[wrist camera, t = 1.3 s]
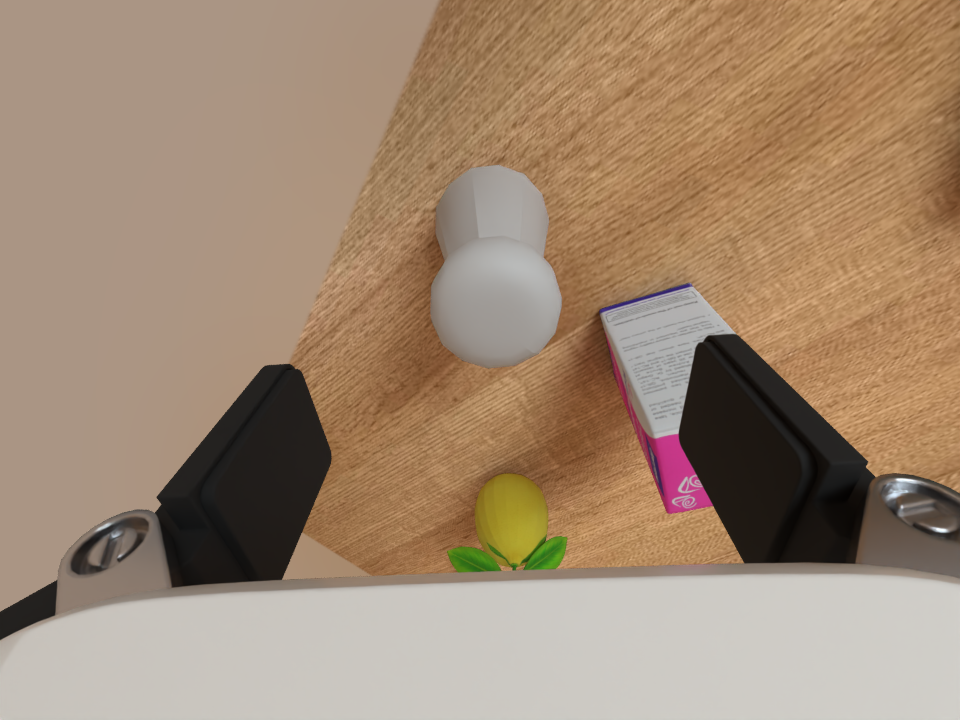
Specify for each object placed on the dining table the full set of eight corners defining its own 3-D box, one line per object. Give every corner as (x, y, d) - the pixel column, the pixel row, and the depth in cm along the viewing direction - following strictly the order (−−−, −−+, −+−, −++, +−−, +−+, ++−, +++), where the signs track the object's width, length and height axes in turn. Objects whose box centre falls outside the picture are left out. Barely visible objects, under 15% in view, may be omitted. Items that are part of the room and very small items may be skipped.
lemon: (453, 476, 36) (442, 598, 27) (503, 438, 33) (508, 558, 25) (510, 513, 38) (516, 635, 30) (560, 480, 36) (583, 602, 27)
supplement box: (593, 309, 27) (651, 433, 18) (691, 280, 26) (810, 396, 16) (610, 380, 30) (668, 520, 20) (698, 356, 29) (804, 493, 19)
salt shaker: (448, 268, 26) (419, 404, 15) (430, 166, 23) (377, 241, 12) (545, 257, 25) (589, 389, 14) (541, 151, 22) (593, 216, 11)
